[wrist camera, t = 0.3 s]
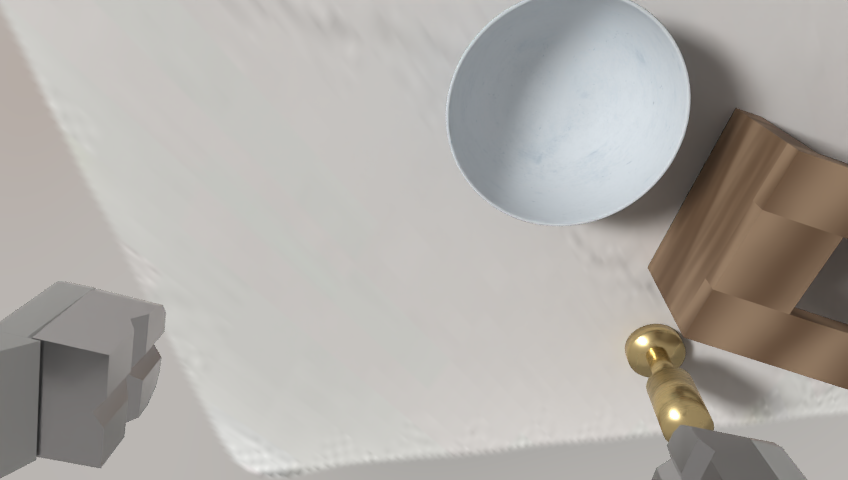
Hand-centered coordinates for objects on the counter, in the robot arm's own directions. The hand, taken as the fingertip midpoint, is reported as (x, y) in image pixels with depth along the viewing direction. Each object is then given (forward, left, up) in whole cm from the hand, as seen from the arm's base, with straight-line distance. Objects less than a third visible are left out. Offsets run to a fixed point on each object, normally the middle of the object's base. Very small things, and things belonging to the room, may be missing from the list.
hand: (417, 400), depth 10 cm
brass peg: (+20, +25, -39) cm, 50 cm away
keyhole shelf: (+6, +33, -39) cm, 51 cm away
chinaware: (+2, +8, -40) cm, 40 cm away
